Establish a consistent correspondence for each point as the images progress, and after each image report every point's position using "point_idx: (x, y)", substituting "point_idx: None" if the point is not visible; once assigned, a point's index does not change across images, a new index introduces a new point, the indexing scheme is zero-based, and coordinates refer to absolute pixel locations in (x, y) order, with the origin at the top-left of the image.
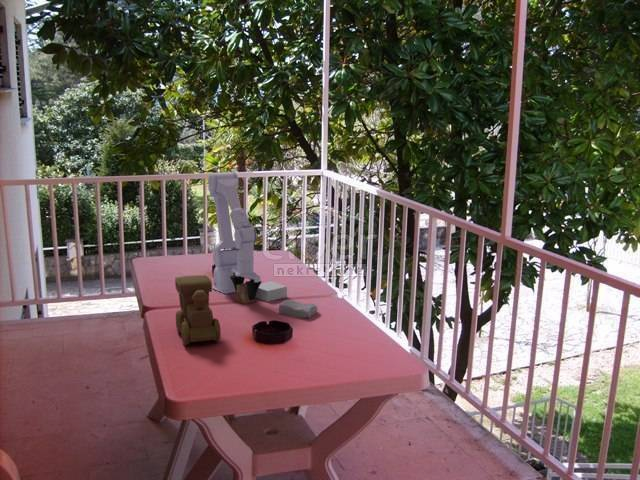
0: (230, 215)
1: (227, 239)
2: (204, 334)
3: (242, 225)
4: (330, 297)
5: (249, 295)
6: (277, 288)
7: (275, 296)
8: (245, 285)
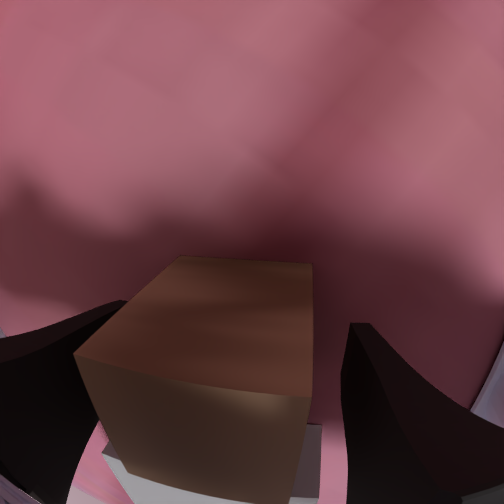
0: None
1: None
2: None
3: None
4: (104, 499)
5: (81, 315)
6: (134, 499)
7: None
8: (174, 442)
